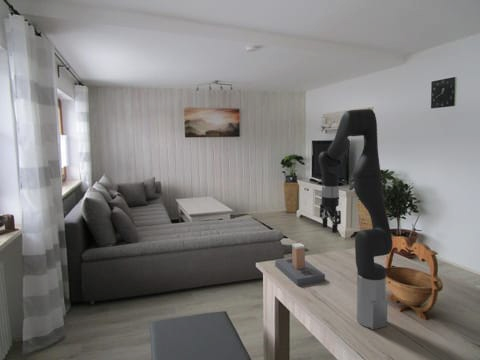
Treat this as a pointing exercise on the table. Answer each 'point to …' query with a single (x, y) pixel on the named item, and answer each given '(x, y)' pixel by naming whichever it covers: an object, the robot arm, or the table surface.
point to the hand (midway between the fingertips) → (329, 229)
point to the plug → (298, 256)
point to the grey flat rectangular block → (300, 272)
